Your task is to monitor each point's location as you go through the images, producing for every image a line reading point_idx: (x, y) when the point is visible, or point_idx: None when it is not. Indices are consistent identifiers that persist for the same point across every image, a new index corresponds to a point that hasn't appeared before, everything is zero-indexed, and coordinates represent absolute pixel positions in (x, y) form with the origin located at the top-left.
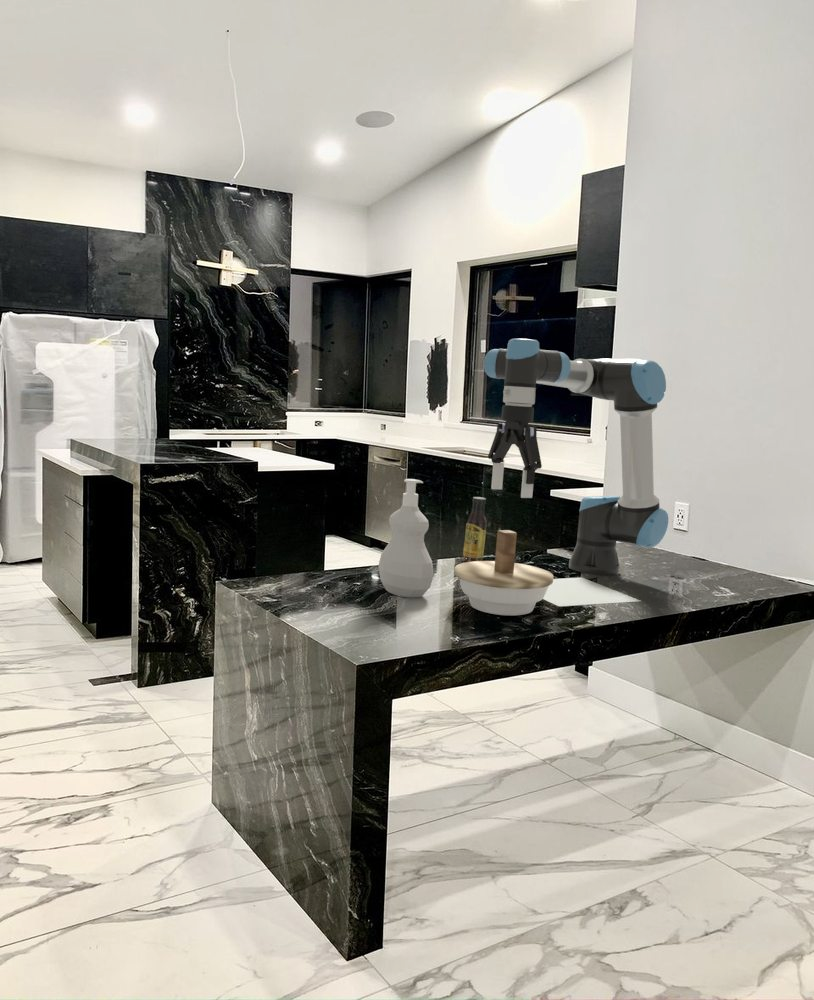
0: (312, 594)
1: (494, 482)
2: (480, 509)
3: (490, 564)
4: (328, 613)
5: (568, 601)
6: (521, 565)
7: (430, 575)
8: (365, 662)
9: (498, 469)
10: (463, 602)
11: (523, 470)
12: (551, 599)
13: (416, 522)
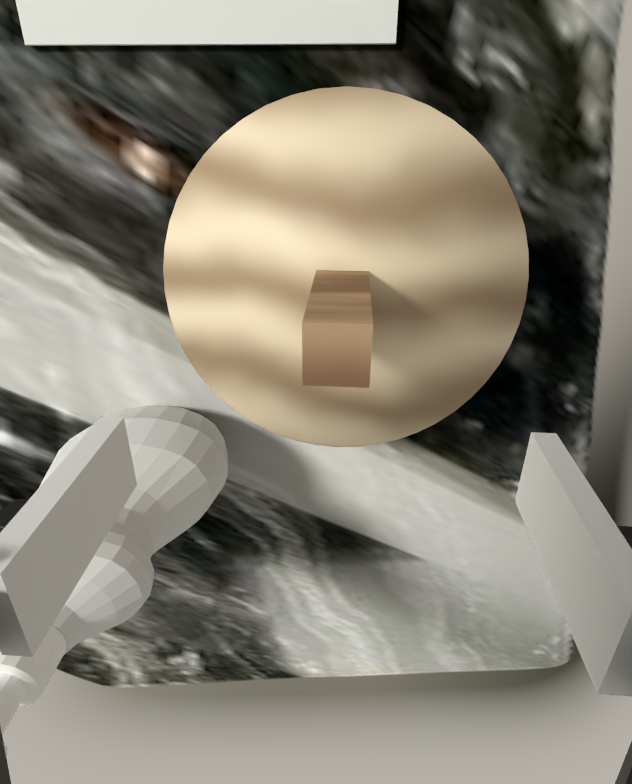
0: (156, 597)
1: (115, 510)
2: None
3: (222, 280)
4: (293, 615)
5: None
6: (250, 152)
7: (216, 449)
8: (566, 656)
9: (56, 569)
10: None
11: (605, 688)
12: (304, 8)
13: (141, 603)
